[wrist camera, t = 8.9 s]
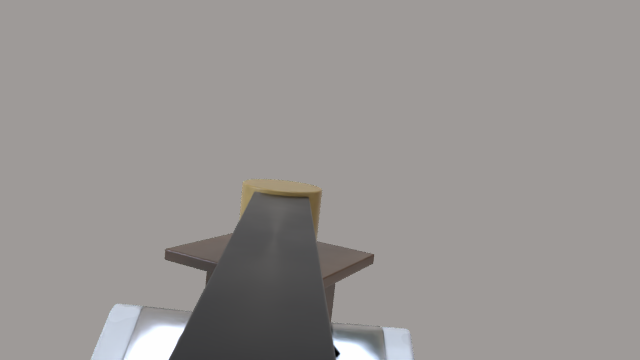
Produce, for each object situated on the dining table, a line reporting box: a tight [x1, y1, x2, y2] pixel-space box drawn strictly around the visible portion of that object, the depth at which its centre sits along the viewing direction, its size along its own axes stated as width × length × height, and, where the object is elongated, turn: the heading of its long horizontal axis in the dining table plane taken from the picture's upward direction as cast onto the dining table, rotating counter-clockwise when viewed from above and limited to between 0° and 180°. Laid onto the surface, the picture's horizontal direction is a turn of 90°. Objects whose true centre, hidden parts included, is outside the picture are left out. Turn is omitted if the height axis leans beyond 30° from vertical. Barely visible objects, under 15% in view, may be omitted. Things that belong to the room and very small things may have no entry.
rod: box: [168, 179, 336, 360], centre depth 17 cm, size 20×4×3 cm, turn 3°
